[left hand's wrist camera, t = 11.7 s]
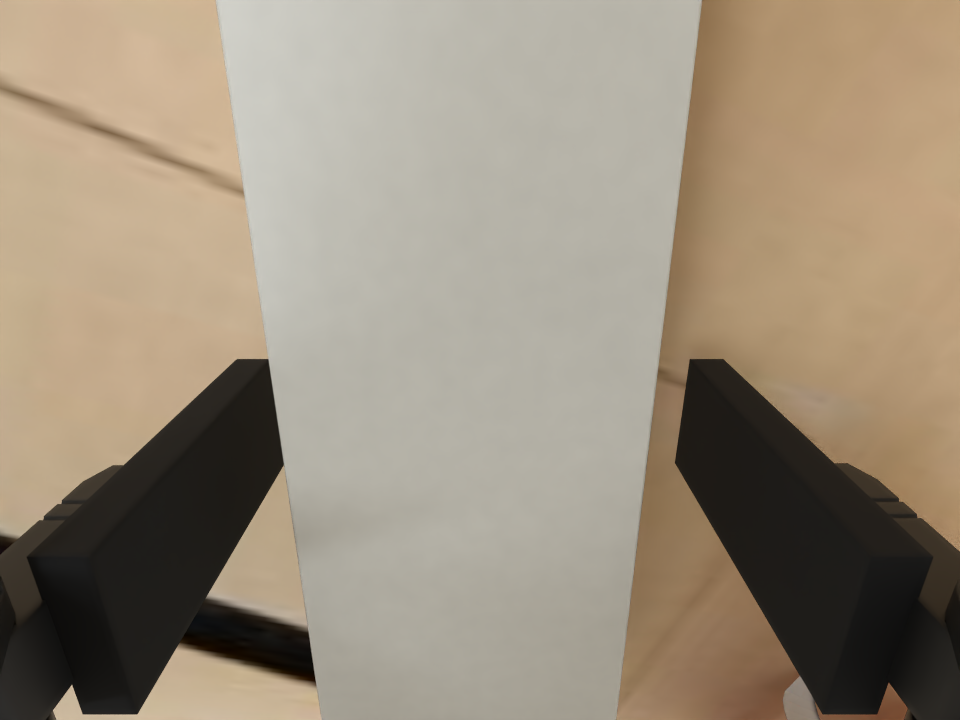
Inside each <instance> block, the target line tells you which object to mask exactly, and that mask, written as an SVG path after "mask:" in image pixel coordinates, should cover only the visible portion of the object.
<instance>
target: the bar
mask: <svg viewBox="0 0 960 720" xmlns="http://www.w3.org/2000/svg"><path fill="white" fill-rule="evenodd" d="M701 6H702V0H216V7H217V13H218V20H219V27H220V34H221V40H222V47H223V54H224V61H225V68H226V74H227V81H228V88H229V95H230V101H231V108H232V115H233V122H234V129H235V135H236V142H237V149H238V156H239V162H240V169H241V176H242V183H243V190H244V196H245V203H246V210H247V217H248V224H249V230H250V237H251V244H252V251H253V257H254V264H255V271H256V278H257V285H258V291H259V298H260V305H261V312H262V318H263V325H264V332H265V339H266V346H267V352H268V359H269V366H270V373H271V380H272V386H273V393H274V400H275V407H276V413H277V420H278V427H279V434H280V441H281V447H282V454H283V461H284V468H285V474H286V481H287V488H288V495H289V502H290V508H291V515H292V522H293V529H294V535H295V542H296V549H297V556H298V563H299V569H300V576H301V583H302V590H303V597H304V603H305V610H306V617H307V624H308V630H309V637H310V644H311V651H312V658H313V664H314V671H315V678H316V685H317V691H318V698H319V705H320V712H321V719H322V720H616V718H617V709H618V701H619V693H620V684H621V676H622V668H623V659H624V651H625V643H626V634H627V626H628V617H629V609H630V601H631V592H632V584H633V576H634V567H635V559H636V550H637V542H638V534H639V525H640V517H641V509H642V500H643V492H644V483H645V475H646V467H647V458H648V450H649V442H650V433H651V425H652V416H653V408H654V400H655V391H656V383H657V375H658V366H659V358H660V350H661V341H662V333H663V324H664V316H665V308H666V299H667V291H668V283H669V274H670V266H671V257H672V249H673V241H674V232H675V224H676V216H677V207H678V199H679V190H680V182H681V174H682V165H683V157H684V149H685V140H686V132H687V123H688V115H689V107H690V98H691V90H692V82H693V73H694V65H695V57H696V48H697V40H698V31H699V23H700V15H701Z"/></svg>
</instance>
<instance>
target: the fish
mask: <svg viewBox="0 0 960 720" xmlns="http://www.w3.org/2000/svg"><path fill="white" fill-rule="evenodd" d="M783 706H784V711H785V714H786V717H787V720H820V718H819V715H818V712H817V709H816V705H815V700H814V699H813V697H812V695H811V694H810V692H809V690H808V688H807V687H806V685H805V683H804V682H803V680H802V678H801V677H800V676H799V677H798V678H797V679H796V680H795V681H794V682H793V683H792V684H791V685H790V686H789V687H788V688H787V689H786V690H785V693H784V697H783Z"/></svg>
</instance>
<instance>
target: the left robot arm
mask: <svg viewBox="0 0 960 720" xmlns="http://www.w3.org/2000/svg"><path fill="white" fill-rule="evenodd" d="M675 464H676V465H677V467H678V469H679V471H680V472H681V474H682V476H683V477H684V479H685V481H686V482H687V484H688V486H689V488H690V489H691V491H692V493H693V494H694V496H695V498H696V499H697V501H698V503H699V505H700V506H701V508H702V510H703V511H704V513H705V515H706V516H707V518H708V520H709V522H710V523H711V525H712V527H713V528H714V530H715V532H716V534H717V535H718V537H719V539H720V540H721V542H722V544H723V545H724V547H725V549H726V551H727V552H728V554H729V556H730V557H731V559H732V561H733V562H734V564H735V566H736V568H737V569H738V571H739V573H740V574H741V576H742V578H743V579H744V581H745V583H746V585H747V586H748V588H749V590H750V591H751V593H752V595H753V597H754V598H755V600H756V602H757V603H758V605H759V607H760V608H761V610H762V612H763V614H764V615H765V617H766V619H767V620H768V622H769V624H770V625H771V627H772V629H773V631H774V632H775V634H776V636H777V637H778V639H779V641H780V642H781V644H782V646H783V648H784V649H785V651H786V653H787V654H788V656H789V658H790V660H791V661H792V663H793V665H794V666H795V668H796V670H797V671H798V673H799V675H800V677H801V678H802V680H803V682H804V683H805V685H806V687H807V688H808V690H809V692H810V694H811V695H812V697H813V699H814V700H815V702H816V704H817V705H818V707H819V709H820V711H821V712H822V714H877V713H878V710H879V708H880V705H881V702H882V699H883V696H884V694H885V691H886V688H887V685H888V683H890V684H891V686H892V687H893V688H894V690H895V691H896V692H897V694H898V695H899V697H900V698H901V699H902V701H903V702H904V703H905V705H906V706H907V707H908V710H907V713H906V715H905V718H904V720H960V552H959V551H958V550H957V549H956V548H955V547H954V546H953V545H951V544H950V543H949V542H948V541H947V540H946V539H945V538H943V537H942V536H941V535H940V534H939V533H938V532H937V531H936V530H934V529H933V528H932V527H931V526H930V525H929V524H928V523H926V522H925V521H924V520H923V519H922V518H917V514H916V513H915V512H914V511H913V510H912V509H910V508H909V507H908V506H907V505H906V504H905V503H904V502H899V498H898V497H897V496H896V495H894V494H893V493H892V492H891V491H890V490H889V489H888V488H887V487H885V486H884V485H883V484H882V483H881V482H880V481H879V480H877V479H876V478H874V477H872V476H870V475H868V474H866V473H864V472H863V471H861V470H859V469H857V468H855V467H853V466H851V465H850V464H848V463H833V462H832V461H831V460H830V459H829V458H828V457H827V456H826V455H825V454H824V453H823V452H821V451H820V450H819V449H818V448H817V447H816V446H815V445H814V444H813V443H812V442H811V441H810V440H809V439H808V438H807V437H806V436H804V435H803V434H802V433H801V432H800V431H799V430H798V429H797V428H796V427H795V426H794V425H793V424H792V423H791V422H790V421H788V420H787V419H786V418H785V417H784V416H783V415H782V414H781V413H780V412H779V411H778V410H777V409H776V408H775V407H774V406H772V405H771V404H770V403H769V402H768V401H767V400H766V399H765V398H764V397H763V396H762V395H761V394H760V393H759V392H758V391H757V390H755V389H754V388H753V387H752V386H751V385H750V384H749V383H748V382H747V381H746V380H745V379H744V378H743V377H742V376H741V375H739V374H738V373H737V372H736V371H735V370H734V369H733V368H732V367H731V366H730V365H729V364H728V363H727V362H726V361H725V360H724V359H690V362H689V369H688V376H687V383H686V390H685V397H684V404H683V411H682V418H681V425H680V432H679V438H678V445H677V452H676V459H675ZM283 465H284V461H283V454H282V447H281V441H280V434H279V427H278V420H277V413H276V407H275V400H274V393H273V386H272V380H271V373H270V366H269V359H237V360H235V361H234V362H233V363H232V364H231V365H230V366H229V367H228V368H227V369H226V370H225V371H224V372H223V373H222V374H221V375H219V376H218V377H217V378H216V379H215V380H214V381H213V382H212V383H211V384H210V385H209V386H208V387H207V388H206V389H205V390H203V391H202V392H201V393H200V394H199V395H198V396H197V397H196V398H195V399H194V400H193V401H192V402H191V403H190V404H189V405H188V406H186V407H185V408H184V409H183V410H182V411H181V412H180V413H179V414H178V415H177V416H176V417H175V418H174V419H173V420H172V421H170V422H169V423H168V424H167V425H166V426H165V427H164V428H163V429H162V430H161V431H160V432H159V433H158V434H157V435H156V436H155V437H153V438H152V439H151V440H150V441H149V442H148V443H147V444H146V445H145V446H144V447H143V448H142V449H141V450H140V451H139V452H137V453H136V454H135V455H134V456H133V457H132V458H131V459H130V460H129V461H128V462H127V463H126V464H125V465H113V466H111V467H109V468H107V469H105V470H104V471H102V472H100V473H98V474H96V475H94V476H93V477H91V478H89V479H87V480H85V481H83V482H82V483H81V484H80V485H79V486H78V487H76V488H75V489H74V490H73V491H72V492H71V493H70V494H69V495H67V496H66V497H65V498H64V499H63V500H62V504H57V505H56V506H55V507H54V508H53V509H52V510H50V511H49V512H48V513H47V514H46V515H45V516H44V520H39V521H38V522H37V523H36V524H35V525H34V526H32V527H31V528H30V529H29V530H28V531H27V532H26V533H24V534H23V535H22V536H21V537H20V538H19V539H18V540H17V541H15V542H14V543H13V544H12V545H11V546H10V547H9V548H7V549H6V550H5V551H4V552H3V553H2V554H1V555H0V720H56V718H55V715H54V713H53V709H54V708H55V707H56V705H57V704H58V703H59V701H60V700H61V698H62V697H63V696H64V694H65V693H66V692H67V690H68V689H69V688H70V686H71V685H73V688H74V691H75V694H76V696H77V699H78V702H79V705H80V708H81V710H82V713H83V714H138V712H139V711H140V709H141V707H142V706H143V704H144V702H145V700H146V699H147V697H148V695H149V694H150V692H151V690H152V688H153V687H154V685H155V683H156V682H157V680H158V678H159V677H160V675H161V673H162V671H163V670H164V668H165V666H166V665H167V663H168V661H169V660H170V658H171V656H172V654H173V653H174V651H175V649H176V648H177V646H178V644H179V643H180V641H181V639H182V637H183V636H184V634H185V632H186V631H187V629H188V627H189V625H190V624H191V622H192V620H193V619H194V617H195V615H196V614H197V612H198V610H199V608H200V607H201V605H202V603H203V602H204V600H205V598H206V597H207V595H208V593H209V591H210V590H211V588H212V586H213V585H214V583H215V581H216V580H217V578H218V576H219V574H220V573H221V571H222V569H223V568H224V566H225V564H226V562H227V561H228V559H229V557H230V556H231V554H232V552H233V551H234V549H235V547H236V545H237V544H238V542H239V540H240V539H241V537H242V535H243V534H244V532H245V530H246V528H247V527H248V525H249V523H250V522H251V520H252V518H253V517H254V515H255V513H256V511H257V510H258V508H259V506H260V505H261V503H262V501H263V499H264V498H265V496H266V494H267V493H268V491H269V489H270V488H271V486H272V484H273V482H274V481H275V479H276V477H277V476H278V474H279V472H280V471H281V469H282V467H283Z"/></svg>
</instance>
